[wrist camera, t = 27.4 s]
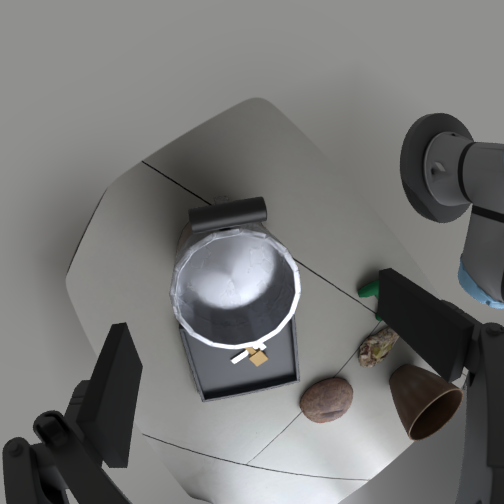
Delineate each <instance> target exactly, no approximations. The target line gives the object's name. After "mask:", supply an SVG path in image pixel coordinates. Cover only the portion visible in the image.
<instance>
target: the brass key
mask: <svg viewBox="0 0 504 504" xmlns="http://www.w3.org/2000/svg"><path fill="white" fill-rule="evenodd" d="M245 349H246V350H247V351H248V352H249V353H250V354H251V355H250V356H249V357H248V358H249V359H250V360H251V361H252V362H253V363H254V364H255V365H256V366H259V365H260V364H262V363H263V362H265V361H266V360H268V359H269V358H268V357H267V356H266V355H265V354H264V353H263V351H262V350H261V349H259V350H257V351H256V350H255V349H254V348H253V347H252V346H251V347H246V348H245Z"/></svg>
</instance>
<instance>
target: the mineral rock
mask: <svg viewBox="0 0 504 504" xmlns="http://www.w3.org/2000/svg"><path fill="white" fill-rule="evenodd" d="M398 338H399V335H398V334H397V333H396V332H395V331H394V330H393V329H391V328H385V329H384V330H381V331H380V332H378V333H377V334H376V335H374V336H370V337H368V338H367V339H366V340H365V341H364V342H363V344H362V345H361V346H360V354H359V363H360V366H363V367H372V366H375V364H376V363H377V364H378V363H380V361H381V360H384V358H385V357H386V356H387V355H388V354H389V351H390V350H391V349H392V347H393V346H394V344H395V341H396V340H397V339H398Z"/></svg>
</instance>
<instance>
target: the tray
mask: <svg viewBox="0 0 504 504" xmlns="http://www.w3.org/2000/svg"><path fill="white" fill-rule="evenodd" d="M179 330H180V334H181V337H182V341H183V344H184V347H185V350H186V354H187V357H188V360H189V363H190V366H191V370H192V373H193V376H194V379H195V382H196V385H197V388H198V391H199V394H200V397H201V399H202V402H207V401H213V400H219V399H224V398H230V397H235V396H240V395H245V394H250V393H255V392H259V391H264V390H268V389H272V388H277V387H281V386H285V385H289V384H293V383H297V382H300V376H299V363H298V350H297V338H296V327H295V315H294V314H293V316H292V317H291V319H290V320H289V321H288V322H287V323H286V325H285V326H284V327H283V328H282V329H281V331H280V332H278V334H276V335H274V336H273V337H271V338H269V339H268V340H266V341H264V342H263V343H264V344H265V345H266V348H265V349H263V350H262V351H263V353H264V354H265V355H266V356H267V357H268V358H269V359H268V360H266V361H265V362H263V363H262V364H260V365H259V366H256V365H255V364H254V363H253V362H252V361H251V360H250V359H249V358H248V357H249V356H250V355H251V354H249V355H247V356H246V357H244V358H243V359H241V360H240V361H238V362H237V363H235V364H234V363H233V362H232V361H231V359H232V358H233V357H235V356H236V355H238V354H239V353H241V352H242V351H244V350H245V348H241V349H236V350H235V349H234V350H233V349H225V348H218V347H212V346H209V345H207V344H205V343H203V342H202V341H200V340H198V339H196V338H194V337H192V336H191V335H190V334H189V333H188V332H187V331H186V330H185V328H184V327H183V326H182V325H181V324H179Z"/></svg>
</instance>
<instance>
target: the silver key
mask: <svg viewBox="0 0 504 504" xmlns="http://www.w3.org/2000/svg"><path fill="white" fill-rule="evenodd" d="M252 347H253V348H254V349H255V350H256V351H257V350H259V349H261V350H263V349H265V348H266V345H265V344H264V343H261V344H259V345H256V346H252ZM249 354H250V353H249V352H248V351H247V350H246V349H245V350H244V351H242V352H241V353H239V354H238V355H236V356H235V357H233V358H232V359H231V361H232V362H233V363H234V364H235V363H237V362H238V361H240V360H241V359H243V358H244V357H246V356H247V355H249Z"/></svg>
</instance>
